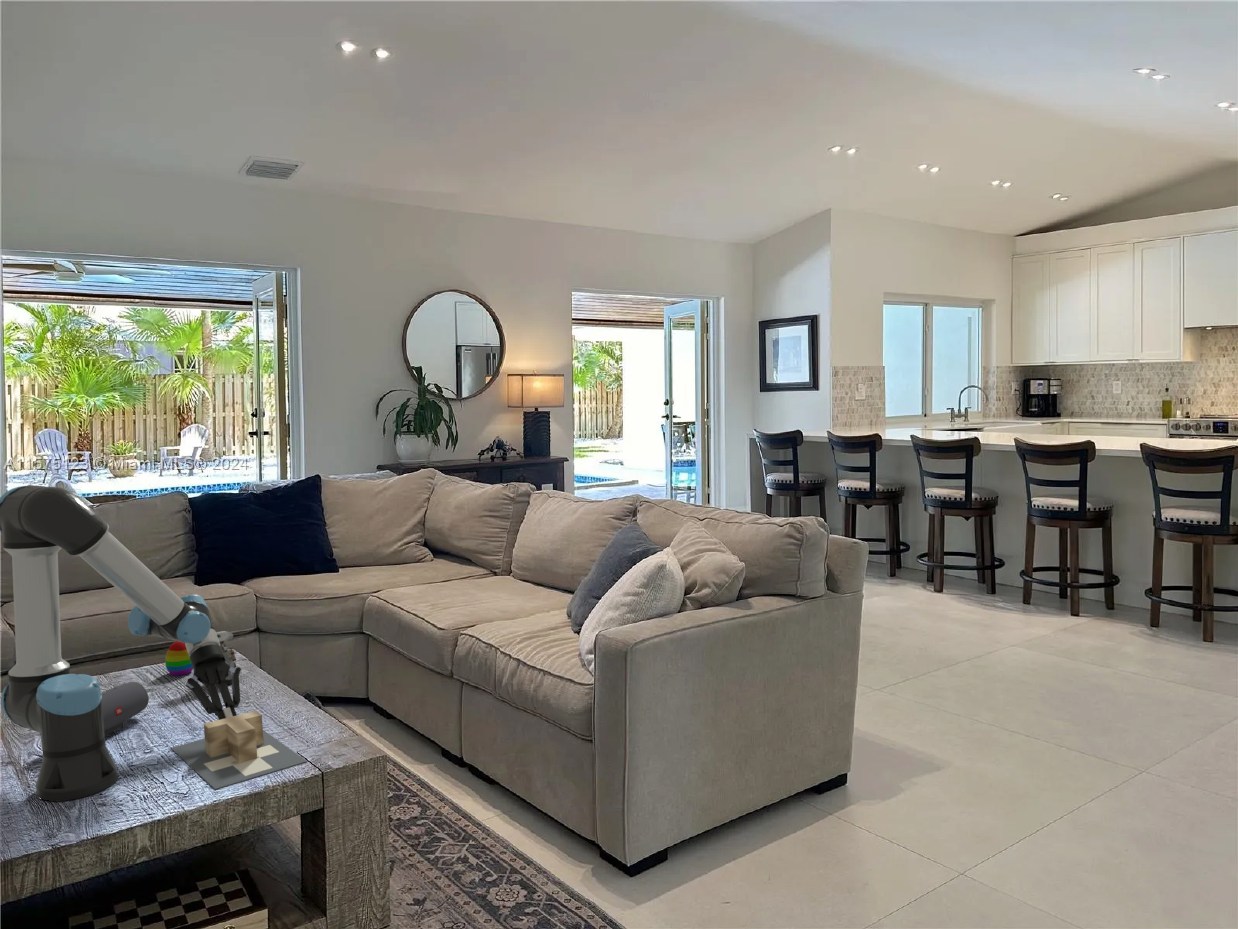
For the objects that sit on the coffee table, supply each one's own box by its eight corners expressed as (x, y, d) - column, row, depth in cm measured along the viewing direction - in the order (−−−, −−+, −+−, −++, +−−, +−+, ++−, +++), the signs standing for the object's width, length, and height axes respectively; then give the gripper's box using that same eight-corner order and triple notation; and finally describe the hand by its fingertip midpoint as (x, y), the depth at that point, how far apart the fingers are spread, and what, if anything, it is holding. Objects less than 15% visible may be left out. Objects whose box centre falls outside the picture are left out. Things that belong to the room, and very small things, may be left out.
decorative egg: (160, 677, 277) (157, 644, 276) (177, 668, 285) (175, 636, 284) (185, 677, 275) (182, 644, 274) (201, 669, 283) (199, 637, 282)
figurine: (190, 684, 268) (186, 633, 267) (232, 675, 275) (228, 626, 274) (198, 692, 261) (194, 640, 260) (240, 682, 268) (236, 632, 267)
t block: (220, 768, 206) (218, 738, 205) (205, 752, 215) (203, 723, 215) (275, 753, 213) (273, 724, 213) (258, 739, 223) (256, 710, 222)
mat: (215, 789, 195) (214, 788, 195) (171, 748, 219) (171, 747, 219) (307, 761, 208) (307, 761, 208) (256, 725, 232) (256, 725, 232)
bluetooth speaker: (86, 751, 220) (82, 710, 219) (52, 750, 221) (49, 709, 221) (152, 717, 242) (149, 680, 241) (121, 716, 244) (118, 679, 243)
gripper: (228, 653, 237) (257, 734, 227) (174, 665, 229) (202, 750, 218) (234, 637, 233) (264, 719, 222) (180, 649, 224) (208, 734, 214)
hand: (233, 734), depth 220 cm, fingers closed
